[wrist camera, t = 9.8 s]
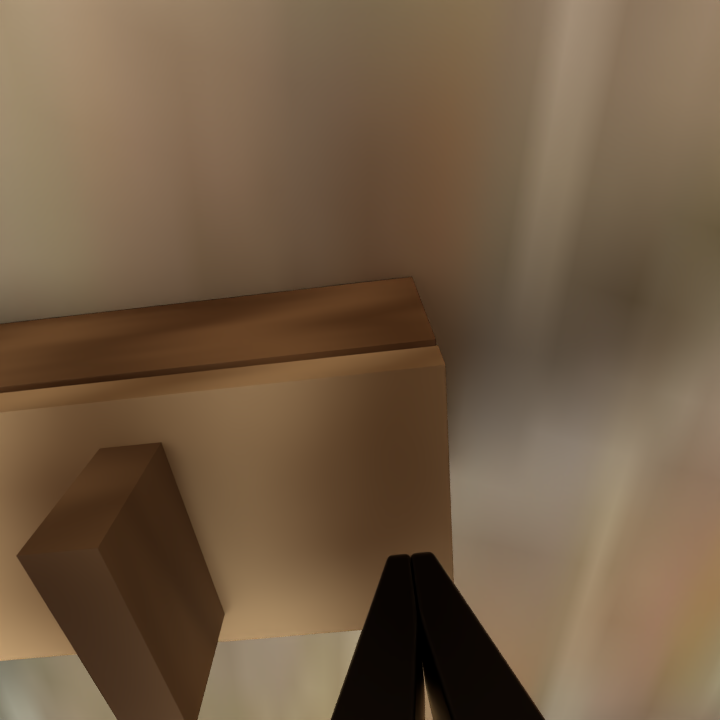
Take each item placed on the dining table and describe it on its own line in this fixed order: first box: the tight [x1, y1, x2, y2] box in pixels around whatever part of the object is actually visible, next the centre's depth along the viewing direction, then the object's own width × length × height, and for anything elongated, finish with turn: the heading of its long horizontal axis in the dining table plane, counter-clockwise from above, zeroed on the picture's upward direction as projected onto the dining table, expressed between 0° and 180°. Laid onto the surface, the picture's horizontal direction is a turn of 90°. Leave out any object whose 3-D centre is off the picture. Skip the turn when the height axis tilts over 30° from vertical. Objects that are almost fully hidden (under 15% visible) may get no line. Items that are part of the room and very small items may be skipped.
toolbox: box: [0, 277, 436, 393], centre depth 14 cm, size 22×10×4 cm, turn 97°
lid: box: [0, 346, 454, 720], centre depth 10 cm, size 17×8×3 cm, turn 97°
